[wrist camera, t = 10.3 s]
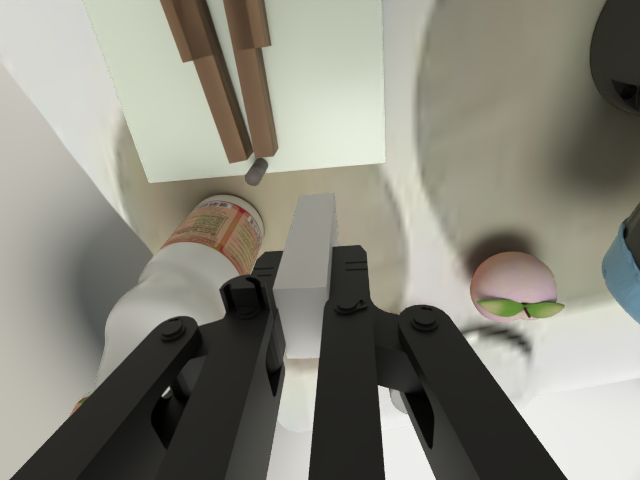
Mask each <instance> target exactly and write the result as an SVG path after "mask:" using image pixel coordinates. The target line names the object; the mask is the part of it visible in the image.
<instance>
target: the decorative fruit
mask: <svg viewBox="0 0 640 480" xmlns="http://www.w3.org/2000/svg"><path fill="white" fill-rule="evenodd" d="M470 294H471V298H472V301H473V303H474V305H475V307H476V308H477V310H478V311H479V312H480V313H481V314H482V315H483V316H485V317H486V318H488V319H491V320H493V321H497V322H503V323H506V322H511V321H514V320H517V319H519V318H521V319H525V320H537V319H539V318H547V317H551V316H553V315H555V314H557V313H559V312H560V311H561V310H562V309H563V308H564V307H565V305H563V304H560V303H556V300H557V286H556V282H555V278H554V275H553V273H552V272H551V270H550V269H549V268H548V267H547V266H546V265H545V264H544V263H543V262H542V261H541V260H539V259H537V258H536V257H534V256H531V255H529V254H526V253H522V252H503V253H499V254H496V255H493V256H491V257H489V258H488V259H486V260H485V261H484V262H483V263H481V264H480V266H479V267H478V268H477V270H476V271H475V273H474V275H473V278H472V281H471V285H470Z"/></svg>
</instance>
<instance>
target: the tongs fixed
mask: <svg viewBox="0 0 640 480" xmlns="http://www.w3.org/2000/svg"><path fill="white" fill-rule="evenodd" d="M223 3H224V8H225V13H226V18H227V23H228V28H229V33H230V37H231V42H232V47H233V52H234V57H235V62H236V67H237V72H238V77H239V82H240V86H241V91H242V96H243V101H244V106H245V111H246V116H247V121H248V126H249V131H250V135H251V140H252V145H253V150H254V155H255V158H258V159H256V160H255V162H254V163H253V165H252V166H251V168H250V169H249V170H248V172H247V173H246V175H245V180H246V182H247V183H248V184H249V185H251V186H256V185H258V184H259V182H260V181H261V179H262V177H263V175H264V174H265V172H266V170H267V168H268V162H267V161H266V160H265V159H263V158H262V157H273V156H274V155H275V154H276V152H277V150H278V142H277V136H276V130H275V125H274V119H273V113H272V107H271V101H270V95H269V89H268V83H267V77H266V71H265V65H264V59H263V54H262V47H268V46H271V40H270V34H269V27H268V21H267V14H266V8H265V2H264V0H223Z"/></svg>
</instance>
